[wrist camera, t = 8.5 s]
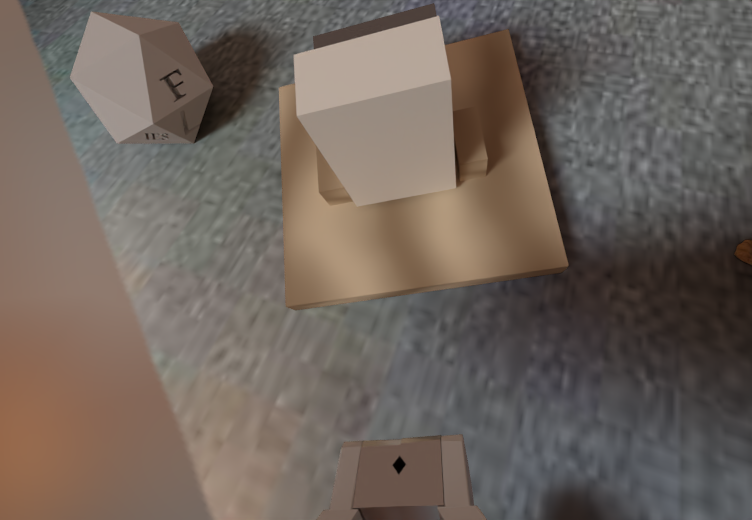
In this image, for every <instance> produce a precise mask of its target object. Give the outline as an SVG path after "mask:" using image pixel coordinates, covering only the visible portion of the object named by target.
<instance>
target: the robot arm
mask: <svg viewBox="0 0 752 520" xmlns="http://www.w3.org/2000/svg"><path fill="white" fill-rule="evenodd" d="M316 520H487V519H486V517H485V516H484V515H483V513H482V512H481V511H480V509H479V508H478V506H474V500H473V492H472V484H471V478H470V472H469V466H468V460H467V455H466V449H465V444H464V438H463V435H462V434H459V435H447V436H441V435H438V436H425V437H413V438H402V439H393V440H372V441H351V442H344V444H343V446H342V448H341V452H340V457H339V462H338V467H337V473H336V478H335V483H334V488H333V493H332V499H331V504H330V509H329V510H323V512H322V513H321V514H320V515H319V517H318V518H317V519H316Z"/></svg>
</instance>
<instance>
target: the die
mask: <svg viewBox="0 0 752 520" xmlns="http://www.w3.org/2000/svg"><path fill="white" fill-rule="evenodd" d="M70 78H71V80H72V81H73V83H74V84H75V85H76V87H77V88H78V90H79V91H80V92H81V94H82V95H83V97H84V98H85V99H86V101H87V102H88V104H89V105H90V106H91V108H92V109H93V111H94V112H95V113H96V115H97V116H98V118H99V119H100V120H101V122H102V123H103V125H104V126H105V127H106V129H107V130H108V131H109V133H110V134H111V136H112V137H113V138H114V140H115V141H116V143H117V144H156V143H194V142H195V139H196V136H197V133H198V130H199V127H200V123H201V121H202V118H203V115H204V112H205V109H206V106H207V103H208V101H209V98H210V95H211V92H212V89H213V85H212V83H211V81H210V79H209V78H208V76H207V74H206V72H205V70H204V68H203V67H202V65H201V63H200V61H199V59H198V57H197V56H196V54H195V52H194V50H193V48H192V46H191V44H190V43H189V41H188V39H187V37H186V35H185V33H184V32H183V30H182V28H181V26H180V24H179V23H178V22H170V21H162V20H154V19H146V18H138V17H130V16H122V15H115V14H107V13H99V12H91V14H90V17H89V20H88V23H87V27H86V30H85V33H84V36H83V39H82V42H81V45H80V48H79V51H78V54H77V57H76V60H75V64H74V67H73V70H72V73H71V76H70Z"/></svg>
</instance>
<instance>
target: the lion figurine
mask: <svg viewBox="0 0 752 520" xmlns="http://www.w3.org/2000/svg"><path fill="white" fill-rule="evenodd" d="M734 254H735V256H736V257H737V258H739V259H740V260H742V261H743V262H746V263H748V264H750V265H752V240H745V241H743V242H742V243H741V244H739V245H738V246H737V249H736V251H735V253H734Z"/></svg>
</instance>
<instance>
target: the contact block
mask: <svg viewBox="0 0 752 520" xmlns="http://www.w3.org/2000/svg"><path fill="white" fill-rule="evenodd" d="M433 17H436V11H435V5H434V3H433V4H430V5H426V6H422V7H419V8H415V9H412V10H408V11H404V12H401V13H397V14H393V15H390V16H386V17H382V18H379V19H375V20H372V21H368V22H364V23H361V24H357V25H353V26H350V27H346V28H343V29H339V30H335V31H332V32H328V33H324V34H321V35H317V36H313V41H314V49H318V48H321V47H325V46H329V45H332V44H336V43H340V42H344V41H347V40H351V39H355V38H358V37H362V36H366V35H370V34H373V33H377V32H381V31H384V30H388V29H392V28H396V27H399V26H403V25H407V24H410V23H414V22H418V21H422V20H425V19H429V18H433Z"/></svg>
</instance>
